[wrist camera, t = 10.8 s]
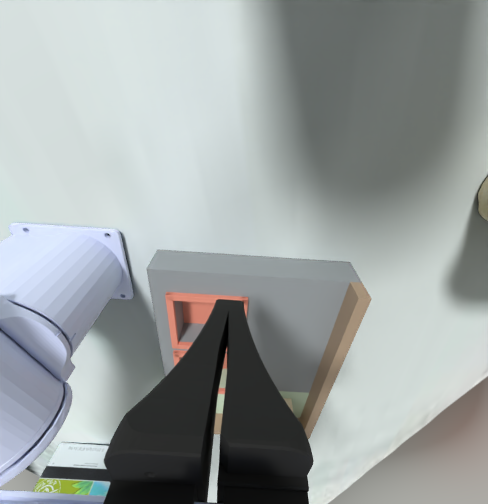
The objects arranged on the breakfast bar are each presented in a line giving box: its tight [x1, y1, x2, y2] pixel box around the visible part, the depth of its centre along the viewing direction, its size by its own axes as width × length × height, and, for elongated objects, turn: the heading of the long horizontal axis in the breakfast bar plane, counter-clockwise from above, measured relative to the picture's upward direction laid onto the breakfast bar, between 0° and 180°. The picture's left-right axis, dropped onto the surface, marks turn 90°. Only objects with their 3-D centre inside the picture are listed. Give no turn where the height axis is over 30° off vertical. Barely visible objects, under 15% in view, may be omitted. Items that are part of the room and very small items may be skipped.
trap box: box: [147, 250, 371, 439], centre depth 28 cm, size 18×24×5 cm
